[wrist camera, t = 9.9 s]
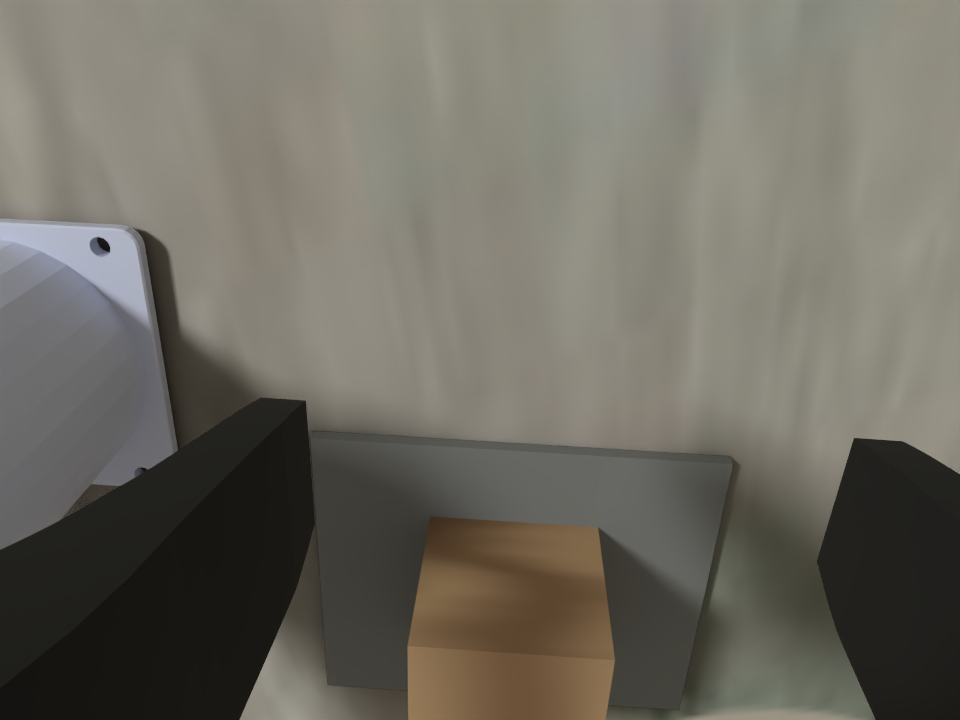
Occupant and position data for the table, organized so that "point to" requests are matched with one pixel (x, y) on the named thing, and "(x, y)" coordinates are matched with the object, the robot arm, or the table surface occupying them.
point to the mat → (515, 498)
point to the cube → (510, 623)
